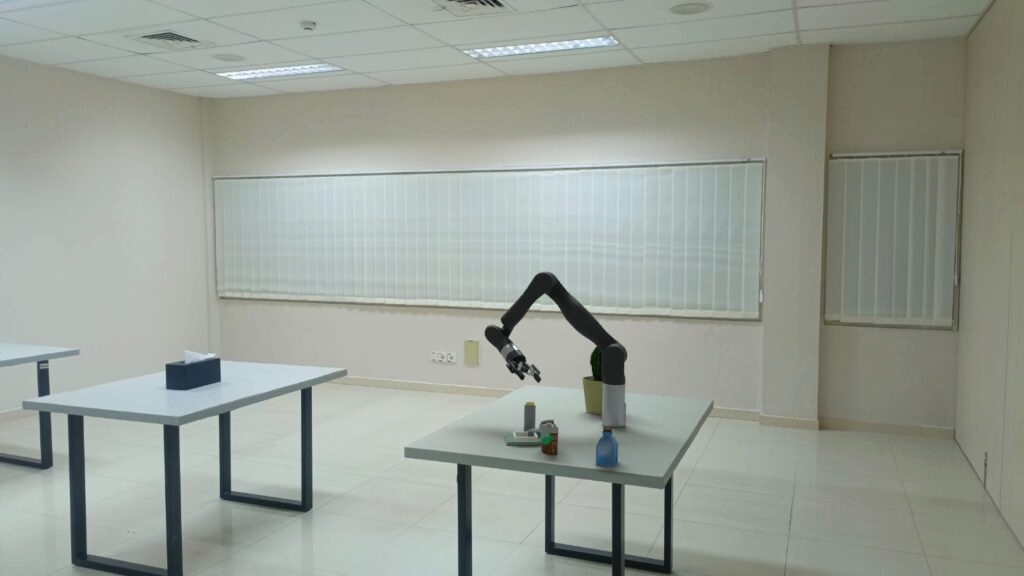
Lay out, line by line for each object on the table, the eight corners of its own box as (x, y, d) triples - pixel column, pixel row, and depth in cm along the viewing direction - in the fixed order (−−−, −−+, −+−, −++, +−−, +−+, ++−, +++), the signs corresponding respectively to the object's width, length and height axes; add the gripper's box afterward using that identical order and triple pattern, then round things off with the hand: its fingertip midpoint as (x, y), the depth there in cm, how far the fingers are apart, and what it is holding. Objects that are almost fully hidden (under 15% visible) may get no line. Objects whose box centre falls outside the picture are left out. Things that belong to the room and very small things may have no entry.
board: (541, 436, 281) (541, 428, 281) (545, 445, 269) (545, 436, 268) (504, 437, 280) (504, 428, 280) (507, 445, 268) (507, 436, 267)
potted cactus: (580, 414, 321) (581, 346, 319) (582, 407, 336) (583, 341, 334) (616, 416, 318) (617, 347, 317) (616, 408, 334) (618, 343, 332)
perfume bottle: (617, 461, 249) (618, 426, 249) (614, 466, 244) (614, 430, 243) (599, 459, 251) (600, 424, 251) (595, 464, 246) (596, 429, 245)
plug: (534, 432, 288) (535, 401, 287) (535, 435, 284) (536, 403, 283) (523, 432, 288) (523, 401, 287) (524, 435, 283) (524, 403, 283)
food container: (536, 446, 267) (536, 419, 266) (553, 446, 267) (553, 419, 267) (540, 456, 254) (540, 427, 254) (558, 456, 255) (558, 427, 255)
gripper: (503, 346, 300) (522, 370, 288) (530, 351, 308) (549, 374, 296) (495, 361, 302) (513, 385, 290) (522, 365, 311) (540, 389, 299)
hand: (531, 379), depth 293 cm, fingers open, 8 cm apart
